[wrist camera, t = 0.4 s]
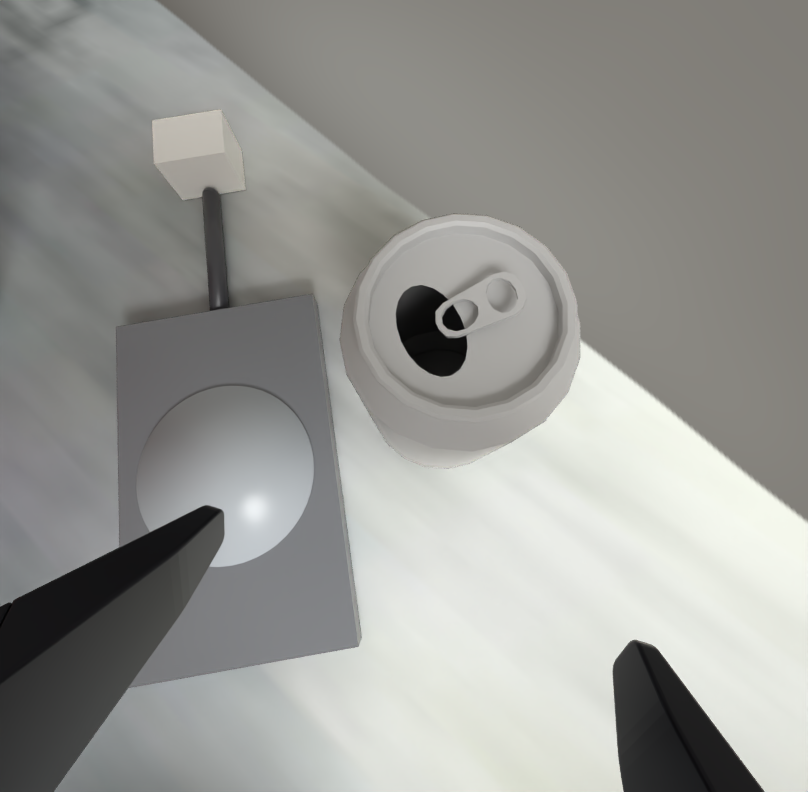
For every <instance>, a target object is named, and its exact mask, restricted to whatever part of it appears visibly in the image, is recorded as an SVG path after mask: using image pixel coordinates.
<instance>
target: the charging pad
mask: <svg viewBox="0 0 808 792" xmlns="http://www.w3.org/2000/svg"><path fill="white" fill-rule="evenodd" d="M152 132H153V156H154V165H155V166H156V167H157V168H158V170H159V171H160V172H161V173H162V175H163V176H164V177H165V178H166V180H167V181H168V182H169V184H170V185H171V186H172V187H173V189H174V190H175V191H176V192H177V194H178V195H179V196H180V197H181V199H182V200H188V199H194V198H200V197H202V201H203V215H204V230H205V244H206V258H207V272H208V287H209V301H210V311H207V312H201V313H196V314H190V315H184V316H178V317H172V318H166V319H160V320H154V321H148V322H142V323H136V324H130V325H124V326H118V327H116V352H117V419H118V486H119V547H121V546H123V545H125V544H127V543H129V542H131V541H133V540H135V539H137V538H139V537H141V536H143V535H145V534H147V533H149V532H151V531H153V530H155V529H157V528H159V527H161V526H163V525H165V524H167V523H169V522H171V521H173V520H175V519H177V518H179V517H181V516H183V515H185V514H187V513H189V512H191V511H193V510H195V509H197V508H199V507H202V506H205V505H210V506H213V507H216V508H219V509H222V510H223V512H224V526H225V535H224V540H223V543H222V545H221V547H220V549H219V550H218V552H217V554H216V556H215V557H214V559H213V561H212V562H211V564H210V566H209V568H208V569H207V571H206V573H205V575H204V576H203V578H202V580H201V581H200V583H199V585H198V587H197V588H196V590H195V592H194V594H193V595H192V597H191V599H190V600H189V602H188V604H187V605H186V607H185V609H184V610H183V612H182V613H181V615H180V616H179V618H178V619H177V620H176V622H175V623H174V625H173V626H172V627H171V629H170V630H169V632H168V633H167V634H166V636H165V637H164V639H163V640H162V641H161V643H160V644H159V646H158V647H157V648H156V650H155V651H154V653H153V654H152V655H151V657H150V658H149V660H148V661H147V662H146V664H145V665H144V666H143V668H142V669H141V671H140V672H139V673H138V675H137V676H136V678H135V679H134V680H133V682H132V683H131V685H130V686H129V687H128V688H132V687H137V686H143V685H148V684H154V683H159V682H165V681H171V680H176V679H182V678H187V677H193V676H198V675H204V674H209V673H215V672H221V671H226V670H232V669H237V668H243V667H248V666H254V665H260V664H265V663H271V662H276V661H282V660H287V659H293V658H298V657H304V656H310V655H315V654H321V653H326V652H332V651H337V650H343V649H349V648H354V647H358V646H359V644H360V641H361V638H362V637H361V630H360V622H359V615H358V607H357V600H356V592H355V585H354V577H353V570H352V562H351V555H350V547H349V540H348V532H347V525H346V517H345V510H344V502H343V495H342V487H341V480H340V472H339V465H338V457H337V450H336V442H335V435H334V427H333V420H332V412H331V405H330V397H329V390H328V382H327V375H326V367H325V360H324V352H323V345H322V337H321V330H320V322H319V315H318V307H317V302H316V300H315V299H314V297H313V295H312V294H308V295H302V296H297V297H291V298H285V299H279V300H273V301H267V302H261V303H255V304H249V305H243V306H237V307H231V308H229V303H228V290H227V278H226V266H225V253H224V241H223V229H222V217H221V204H220V195H219V194H224V193H230V192H236V191H242V190H246V187H245V177H244V167H243V156H242V150H241V148H240V146H239V144H238V142H237V140H236V138H235V136H234V134H233V132H232V130H231V128H230V126H229V124H228V122H227V120H226V118H225V116H224V114H223V112H222V110H221V109H219V110H212V111H206V112H200V113H194V114H188V115H182V116H175V117H169V118H163V119H157V120H152Z"/></svg>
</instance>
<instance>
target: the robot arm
mask: <svg viewBox="0 0 808 792" xmlns="http://www.w3.org/2000/svg"><path fill="white" fill-rule="evenodd" d="M224 535H225V526H224V512H223V510H222V509H219V508H216V507H213V506H210V505H205V506H202V507H199V508H197V509H195V510H193V511H191V512H189V513H187V514H185V515H183V516H181V517H179V518H177V519H175V520H173V521H171V522H169V523H167V524H165V525H163V526H161V527H159V528H157V529H155V530H153V531H151V532H149V533H147V534H145V535H143V536H141V537H139V538H137V539H135V540H133V541H131V542H129V543H127V544H125V545H123V546H121V547H119V548H117V549H115V550H113V551H111V552H109V553H107V554H105V555H103V556H101V557H99V558H97V559H95V560H93V561H91V562H89V563H87V564H85V565H83V566H81V567H79V568H77V569H75V570H73V571H71V572H69V573H67V574H65V575H63V576H61V577H59V578H57V579H55V580H53V581H51V582H49V583H47V584H45V585H43V586H41V587H39V588H37V589H35V590H33V591H31V592H29V593H27V594H25V595H23V596H21V597H19V598H17V599H15V600H14V601H13V603H7V604H5V605H3V606H1V607H0V792H54V790H55V789H56V788H57V786H58V785H59V783H60V782H61V781H62V779H63V778H64V777H65V775H66V774H67V772H68V771H69V770H70V768H71V767H72V765H73V764H74V763H75V761H76V760H77V758H78V757H79V756H80V754H81V753H82V751H83V750H84V749H85V747H86V746H87V744H88V743H89V742H90V740H91V739H92V738H93V736H94V735H95V733H96V732H97V731H98V729H99V728H100V726H101V725H102V724H103V722H104V721H105V719H106V718H107V717H108V715H109V714H110V712H111V711H112V710H113V708H114V707H115V705H116V704H117V703H118V701H119V700H120V699H121V697H122V696H123V694H124V693H125V692H126V690H127V689H128V687H129V686H130V685H131V683H132V682H133V680H134V679H135V678H136V676H137V675H138V673H139V672H140V671H141V669H142V668H143V666H144V665H145V664H146V662H147V661H148V660H149V658H150V657H151V655H152V654H153V653H154V651H155V650H156V648H157V647H158V646H159V644H160V643H161V641H162V640H163V639H164V637H165V636H166V634H167V633H168V632H169V630H170V629H171V627H172V626H173V625H174V623H175V622H176V620H177V619H178V618H179V616H180V615H181V613H182V612H183V610H184V609H185V607H186V605H187V604H188V602H189V600H190V599H191V597H192V595H193V594H194V592H195V590H196V588H197V587H198V585H199V583H200V581H201V580H202V578H203V576H204V575H205V573H206V571H207V569H208V568H209V566H210V564H211V562H212V561H213V559H214V557H215V556H216V554H217V552H218V550H219V549H220V547H221V545H222V543H223V540H224ZM613 685H614V701H615V716H616V732H617V746H618V757H619V764H620V772H621V778H622V784H623V791H624V792H764V790H763V789H762V788H761V786H760V785H759V784H758V782H757V781H756V780H755V778H754V777H753V776H752V774H751V773H750V772H749V770H748V769H747V768H746V766H745V765H744V764H743V762H742V761H741V760H740V758H739V757H738V756H737V754H736V753H735V752H734V750H733V749H732V748H731V746H730V745H729V744H728V742H727V741H726V740H725V738H724V737H723V736H722V734H721V733H720V732H719V730H718V729H717V728H716V726H715V725H714V724H713V722H712V721H711V720H710V718H709V717H708V716H707V714H706V713H705V712H704V710H703V709H702V708H701V706H700V705H699V704H698V702H697V701H696V700H695V698H694V697H693V696H692V694H691V693H690V692H689V690H688V689H687V688H686V686H685V685H684V684H683V682H682V681H681V680H680V678H679V677H678V676H677V674H676V673H675V672H674V670H673V669H672V668H671V666H670V665H669V664H668V662H667V661H666V660H665V658H664V657H663V656H662V654H661V653H660V652H659V650H658V649H657V648H656V647H654V646H653V645H651V644H648V643H645V642H641V641H638V640H632V641H630V642H629V643H628V645H627V646H626V647H625V648H624V650H623V651H622V652H621V654H620V655H619V656H618V657H617V659H616V660H615V662H614V665H613Z"/></svg>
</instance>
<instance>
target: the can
mask: <svg viewBox="0 0 808 792" xmlns="http://www.w3.org/2000/svg"><path fill="white" fill-rule="evenodd" d="M340 344H341V349H342V354H343V359H344V364H345V368H346V373H347V376H348V378H349V380H350V381H351V383H352V385H353V386H354V388H355V390H356V392H357V393H358V395H359V397H360V398H361V400H362V402H363V404H364V405H365V407H366V409H367V410H368V412H369V414H370V416H371V417H372V419H373V421H374V423H375V424H376V426H377V428H378V429H379V431H380V433H381V434H382V436H383V438H384V439H385V441H386V443H387V444H388V445H389V446H391V447H392V448H393V449H394V450H395V451H396V452H397V453H399V454H400V455H401V456H402V457H403V458H405V459H407V460H410V461H412V462H414V463H417V464H419V465H421V466H424V467H432V468H444V469H449V468H453V467H458V466H462V465H466V464H470V463H472V462H474V461H476V460H478V459H480V458H482V457H484V456H486V455H488V454H490V453H492V452H493V451H495V450H497V449H499V448H501V447H503V446H505V445H507V444H509V443H511V442H513V441H514V440H516V439H518V438H519V437H521V436H522V435H524V434H526V433H527V432H529V431H530V430H532V429H534V428H535V427H537V426H538V425H540V424H542V423H543V422H545V420H546V419H547V418H548V417H549V416H550V414H551V413H552V412H553V411H554V409H555V408H556V407H557V406H558V404H559V403H560V402H561V401H562V399H563V398H564V397H565V396H566V395H567V393H568V391H569V389H570V386H571V383H572V380H573V377H574V374H575V371H576V369H577V366H578V363H579V360H580V320H579V318H578V314H577V301H576V298H575V295H574V292H573V289H572V286H571V283H570V281H569V278H568V275H567V272H566V271H565V270H564V268H563V267H562V266H561V264H560V263H559V262H558V260H557V259H556V258H555V256H554V255H553V254H552V253H551V251H550V250H549V249H548V247H547V246H546V245H544V244H543V243H542V242H540V241H539V240H537V239H536V238H535V237H533V236H532V235H530V234H529V233H528V232H526V231H525V230H523V229H522V228H520V227H519V226H516V225H514V224H511V223H508V222H505V221H502V220H499V219H496V218H493V217H491V216H488V215H473V214H457V213H453V214H449V215H444V216H440V217H435V218H430V219H426V220H422V221H420V222H418V223H416V224H414V225H412V226H411V227H409V228H407V229H405V230H403V231H402V232H400V233H398V234H396V235H394V236H393V237H392V238H391V239H390V240H389V241H388V242H387V243H386V244H385V245H384V246H383V247H382V248H381V249H380V250H379V251H378V252H377V253H376V254H375V255H374V256H373V257H372V258H371V260H370V262H369V264H368V266H367V267H366V268H365V269H364V270H363V271H362V272H361V273H360V274H359V276H358V278H357V280H356V282H355V284H354V286H353V288H352V290H351V292H350V294H349V296H348V298H347V300H346V302H345V304H344V310H343V317H342V325H341V333H340Z"/></svg>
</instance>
